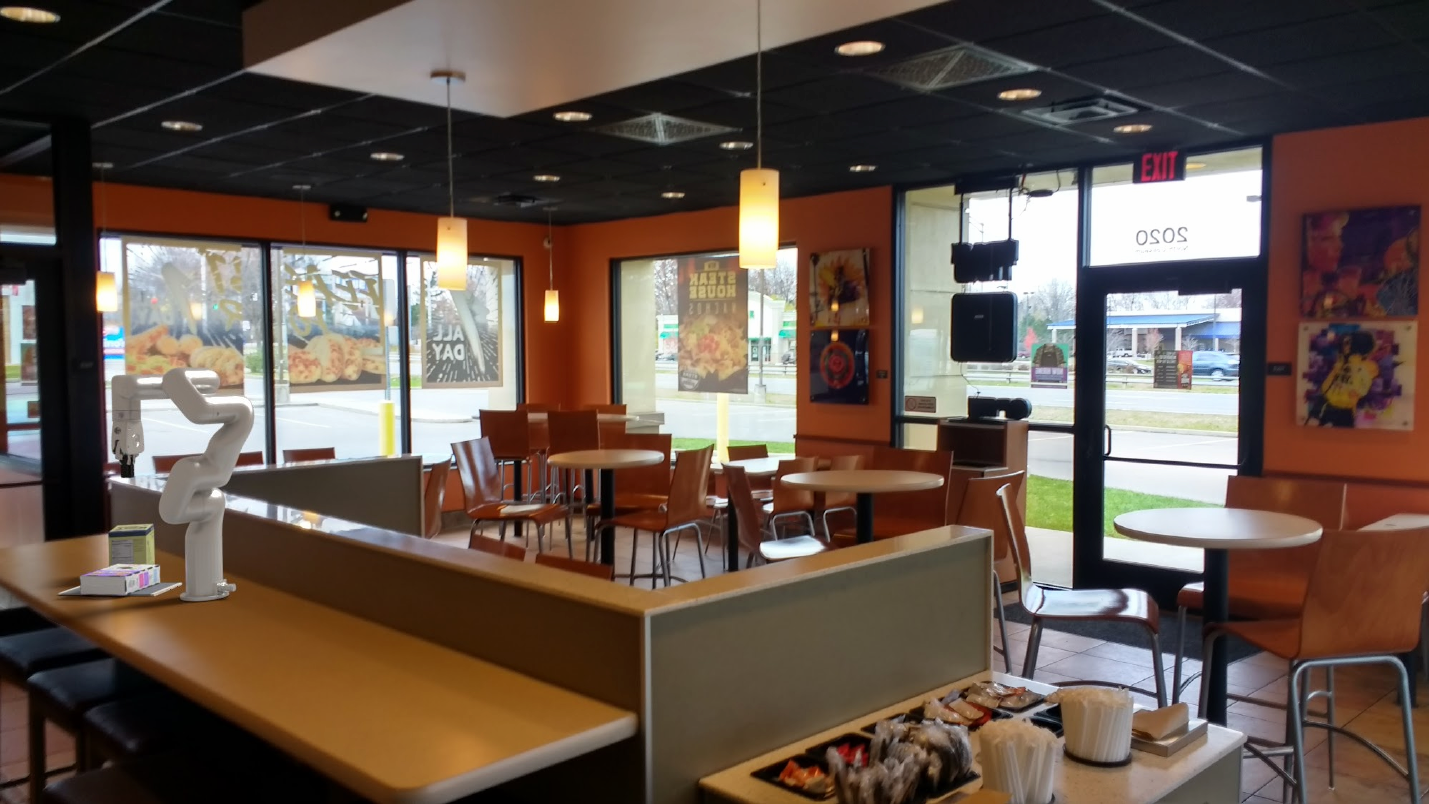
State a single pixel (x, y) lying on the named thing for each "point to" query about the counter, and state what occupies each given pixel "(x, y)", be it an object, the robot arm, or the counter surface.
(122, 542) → the protein box
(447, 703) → the counter surface
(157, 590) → the gray flat board
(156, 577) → the candy box
